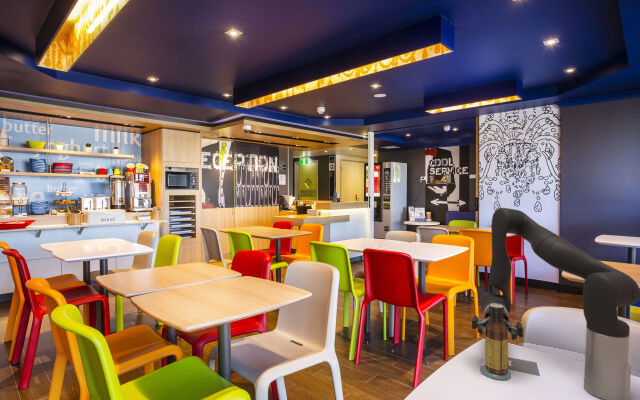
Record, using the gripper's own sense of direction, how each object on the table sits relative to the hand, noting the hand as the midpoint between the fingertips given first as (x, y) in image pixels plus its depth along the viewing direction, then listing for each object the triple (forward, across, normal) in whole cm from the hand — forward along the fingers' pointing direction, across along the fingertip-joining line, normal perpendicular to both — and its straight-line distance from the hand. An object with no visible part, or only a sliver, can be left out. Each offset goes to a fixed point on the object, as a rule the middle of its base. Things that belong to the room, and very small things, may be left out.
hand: (497, 334), depth 107 cm
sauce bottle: (-2, 0, +12) cm, 12 cm away
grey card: (-11, +5, +13) cm, 17 cm away
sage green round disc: (-2, 0, +13) cm, 13 cm away
